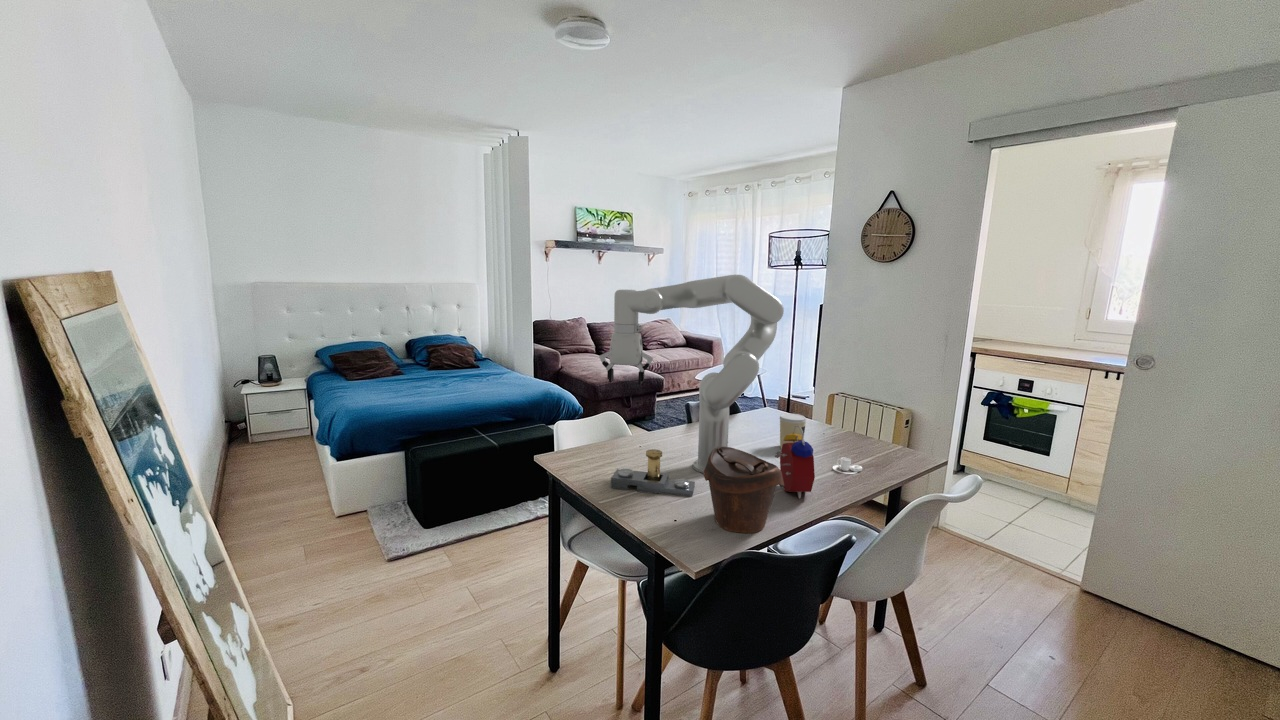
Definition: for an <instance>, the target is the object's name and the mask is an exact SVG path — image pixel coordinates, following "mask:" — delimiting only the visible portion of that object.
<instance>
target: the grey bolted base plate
mask: <svg viewBox="0 0 1280 720" xmlns="http://www.w3.org/2000/svg"><path fill="white" fill-rule="evenodd" d="M669 477H670V474H669V472H668V473H667V472H660V481H652V480H648V471H638V470H633V469H630V468H619V469H618V468H617V469H616V470H615V472H614V473H613V474H612V476H611V477H610V488H611V489H613V490H614V489H616V490H625V491H627V490H629V488H630V487H631V486H636V492H638V493H648V494H657V495H659V494H663V495H664V494H665V495H675V496H676V495H677V496H683V497H684V496H685V497H693V494H694V491H695V487H696V486H695V485H696V482H695V481H693V480H688V479H685V478H677V479H671V478H670V479H669Z"/></svg>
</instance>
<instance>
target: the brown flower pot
mask: <svg viewBox="0 0 1280 720" xmlns="http://www.w3.org/2000/svg"><path fill="white" fill-rule="evenodd" d="M703 475H704V480H705V481H706V482H707V481H708V484H709V485H708V487H709V492H710V497H711V503H712V508H713V514H714V515H713V516H714V519H715V521H716V523H717V525H718V526H720V527H722V529H724V530H727V531H729V532H734V533H739V534H740V533H741V534H754V533H758V532H760V531H762V530H763V529H764V528H765V527H766V524H767V519H768V515H769V513H770V509H771V506H772V503H773V500H774V496H775V493H776V488H777V487H778V486H779V487H780V488H784V482H783V477H782V472H781V470H780V468H779V466H777V465H776V464H773V463H771V462H769V461H767V460H764V459H762V458H760V457H757V456H755V455H753V454H752V453H748V452H746V451H743V450H740V449H739V448H738V449H737V448H735V447H731V446H728V447H725V446H722V447H717V448H715V449H714V450H713V451H712V452H711V453H710V455H709V457H708V461H707V464H706V467H705V469H704V473H703Z"/></svg>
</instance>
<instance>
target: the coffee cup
mask: <svg viewBox="0 0 1280 720" xmlns="http://www.w3.org/2000/svg"><path fill="white" fill-rule="evenodd" d="M806 423H807V418H806V417H805V416H804V415H802V414H797V413H782V414H781V415H780V416H779V440H780V441H779V444H780V445H779V446H780V449H782V445H783V444H785V443H793V441H784V438H785V436H786V435H788V434H792V433H793V431H794V429H795V426H800V428H801V430H802V432H803V439H804V438H805V432H806V431H805V430H806V425H807V424H806ZM795 434H799V435H801V436H802V433H801V431H800V429H799V427H796V432H795ZM804 440H805V439H804ZM795 442H798V441H795Z"/></svg>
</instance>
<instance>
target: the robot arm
mask: <svg viewBox="0 0 1280 720" xmlns="http://www.w3.org/2000/svg"><path fill="white" fill-rule="evenodd" d="M613 303H614V304H613V305H614V307H613V309H614V311H613V312H614V315H613V316H614V317H613V318H614V319H613V321H614V323H613V330H614V331H613V332H612V334H611V338H610V339H611V340H610V345H609V346H610V347H609V350H608V351H607V352H605V353H602V354H600V355H599V359H600V361H601V364H602V365H603V367H604V368H605V370H607V372H606V373H607V380H608V383H610V384H611V383H612V382H614V380H615V379H614V378H615V377H614V368H613V367H614V366H632V367H633V366H634V367H635V366H636V368H638V370H639V371H638V383H637V384H639V385H642V384H643V382H644V381H645V371H646V370H647V369H648V368H649V367H650V366H651V364H652V363H653V360H654V358H653V356H651V355H649V354H647V353H645V352H644V351H643V349H644V348H643V340H642V335H641V334H642V333H640V331H643V329H644V327H643V325H640V324H639V314H647V315H648V314H649V315H654V314H657V313H659V312H661V311H663V310H672V309H679V308H680V309H681V308H682V309H683V308H687V309H698V308H705V307H711V306H718V305H724V304H731V303H732V304H734V305H736V306H737V308H740V309H741V310H743V312H745V313H746V314H748V315H749V316H750V325H749V327H748V329H747V331H746V332H745V334H743V336H742V337H741V338H740V339H739V341H738V342H737V343H736V344H735V345H734V346H733V347H732V348H731V349H730V350H729V351H728V352H727V353H726V354H725V356H724V357H723V362H722V365H723V368H722V369H721V370H720V371H719V372H717V371H716V372H715V371H714V372H709V373H707V374H706V375H704V376H703V377H702V379H701V381H700V383H699V387H698V391H699V394H698V395H699V396H698V397H699V400H698V401H699V415H698V417H699V418H698V419H699V420H698V446H697V447H698V449H697V459H695V460H694V461H693V464H692V468H693V469H694V470H695V471H697V472H699V473H702V474H704V469H705V467H706V464H707V461H708V457H709V455H710V453H711V452H712V451H713V450H714V449H715V448H717V447H722V446H725V447H729V427H730V426H729V425H730V407H731V406H733V404H734V403H735V402H736V401H737V400H738V399H739V398H740V396H741V395H742V394H744V392H745V391H746V390H747V389H748V388H749V387H750V386H751V385H752V384H753V382H754V381H755V380H756V378H757V376H758V373H759V370H760V364H759V360H760V359H761V358H762V357H763V356H764V355H765V353H766V352H767V350H768V349H769V348H770V347H771V345H772V344H773V342H774V341H775V338H776V336H777V330H778V323H779V322H780V321H781V320H782V318H783V316H784V314H785V313H784V312H785V311H784V309H785V308H784V306H783V303H782V301H781V300H780V299H779V298H778V297H776V296H775V295H773V294H772V293H770V292H769V291H767V290H766V289H764V288H763V287H761V286H759V284H757V283H756V282H755V281H753V280H751V279H750V278H749V277H747V276H745V275H743V274H729V275H722V276H715V277H709V278H703V279H696V280H691V281H686V282H684V283H677V284H672V285H671V284H670V285H666V286H658V287H652V288H648V289H644V290H636V289H617V290H616V291H615V292H614V301H613ZM608 356H609V357H608ZM607 357H608V358H609V362H608V361H607V360H606V358H607ZM643 359H645V360H646V363H645V364H643V362H644V361H643Z"/></svg>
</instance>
